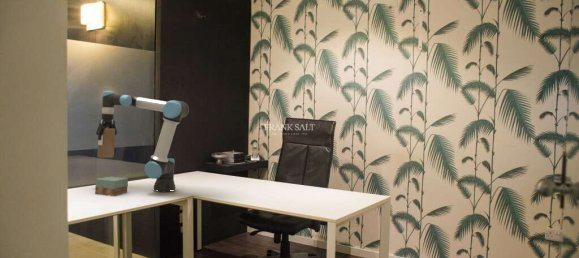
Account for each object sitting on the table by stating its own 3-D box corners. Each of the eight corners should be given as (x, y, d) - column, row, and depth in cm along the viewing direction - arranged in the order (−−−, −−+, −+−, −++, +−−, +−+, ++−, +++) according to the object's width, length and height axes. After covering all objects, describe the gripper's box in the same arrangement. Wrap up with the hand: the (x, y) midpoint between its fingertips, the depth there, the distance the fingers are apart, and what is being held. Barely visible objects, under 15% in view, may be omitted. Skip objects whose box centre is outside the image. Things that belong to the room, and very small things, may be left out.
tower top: (127, 185, 287) (128, 178, 287) (114, 188, 274) (114, 181, 274) (109, 183, 291) (109, 176, 290) (95, 186, 277) (95, 179, 277)
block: (113, 158, 293) (114, 128, 292) (97, 157, 290) (98, 128, 289) (113, 156, 302) (115, 128, 302) (98, 156, 299) (99, 127, 298)
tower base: (127, 193, 288) (127, 185, 287) (114, 196, 274) (114, 188, 274) (108, 191, 290) (108, 183, 290) (95, 194, 277) (95, 186, 276)
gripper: (113, 113, 308) (112, 143, 309) (91, 113, 284) (89, 145, 284) (123, 114, 307) (121, 143, 307) (101, 113, 282) (100, 145, 283)
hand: (106, 144), depth 296 cm, fingers closed on block, 13 cm apart
